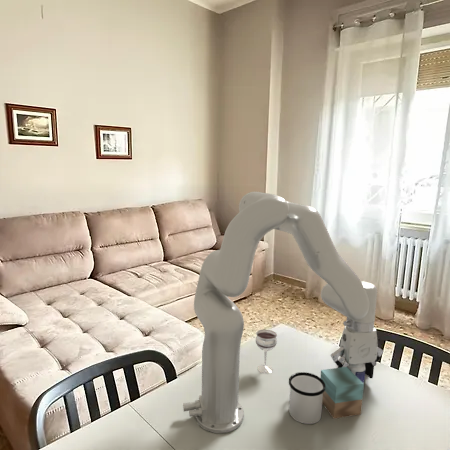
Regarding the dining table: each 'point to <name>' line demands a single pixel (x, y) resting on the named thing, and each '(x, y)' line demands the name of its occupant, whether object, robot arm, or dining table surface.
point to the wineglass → (266, 346)
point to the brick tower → (342, 392)
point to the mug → (306, 397)
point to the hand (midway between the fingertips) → (355, 377)
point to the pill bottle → (357, 370)
